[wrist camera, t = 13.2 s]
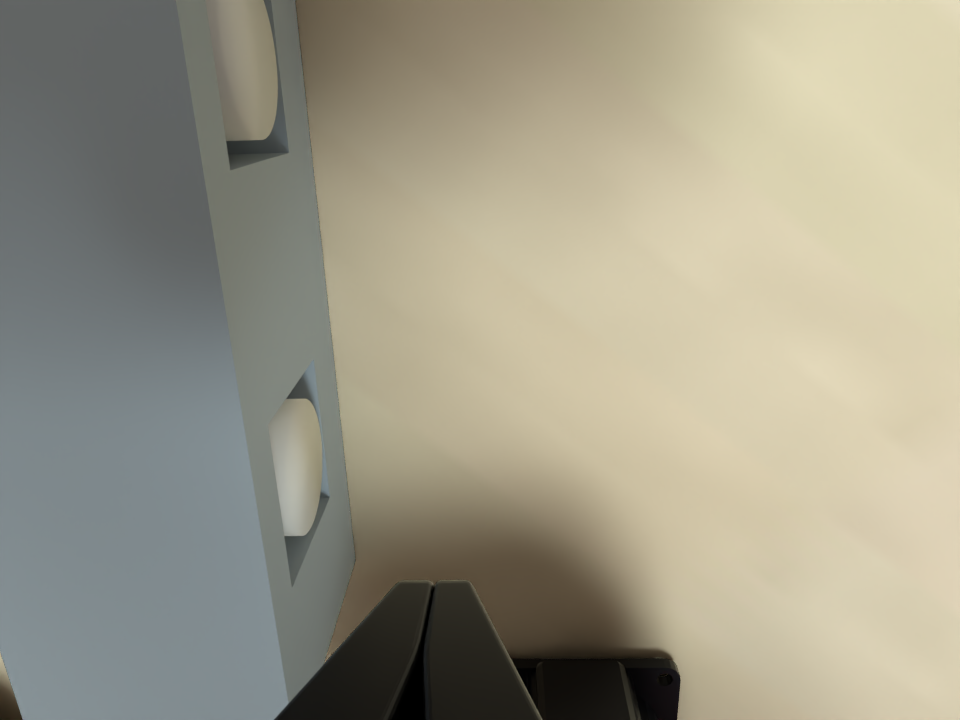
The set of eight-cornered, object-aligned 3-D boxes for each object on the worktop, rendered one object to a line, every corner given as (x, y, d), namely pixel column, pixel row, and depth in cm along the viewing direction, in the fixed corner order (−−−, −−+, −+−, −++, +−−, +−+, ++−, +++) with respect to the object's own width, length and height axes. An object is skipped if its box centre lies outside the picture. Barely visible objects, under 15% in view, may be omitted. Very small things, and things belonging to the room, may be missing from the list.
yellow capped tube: (334, 498, 20) (291, 604, 16) (22, 501, 20) (-100, 607, 16) (317, 347, 18) (263, 422, 14) (-20, 353, 19) (-168, 429, 15)
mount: (355, 560, 23) (296, 752, 16) (167, 562, 23) (33, 752, 16) (272, -215, 16) (106, -434, 9) (1, -202, 16) (-351, -407, 9)
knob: (295, 160, 17) (228, 184, 13) (-73, 171, 17) (-257, 197, 13) (270, -56, 15) (185, -110, 11) (-135, -40, 15) (-365, -87, 11)
